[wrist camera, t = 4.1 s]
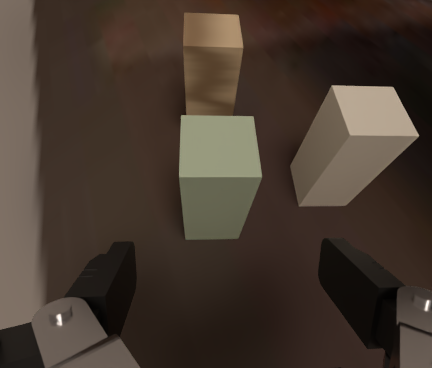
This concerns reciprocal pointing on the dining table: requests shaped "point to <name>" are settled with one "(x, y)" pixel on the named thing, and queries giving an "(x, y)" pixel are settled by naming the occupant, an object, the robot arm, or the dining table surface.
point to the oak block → (211, 63)
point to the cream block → (350, 144)
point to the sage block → (217, 174)
